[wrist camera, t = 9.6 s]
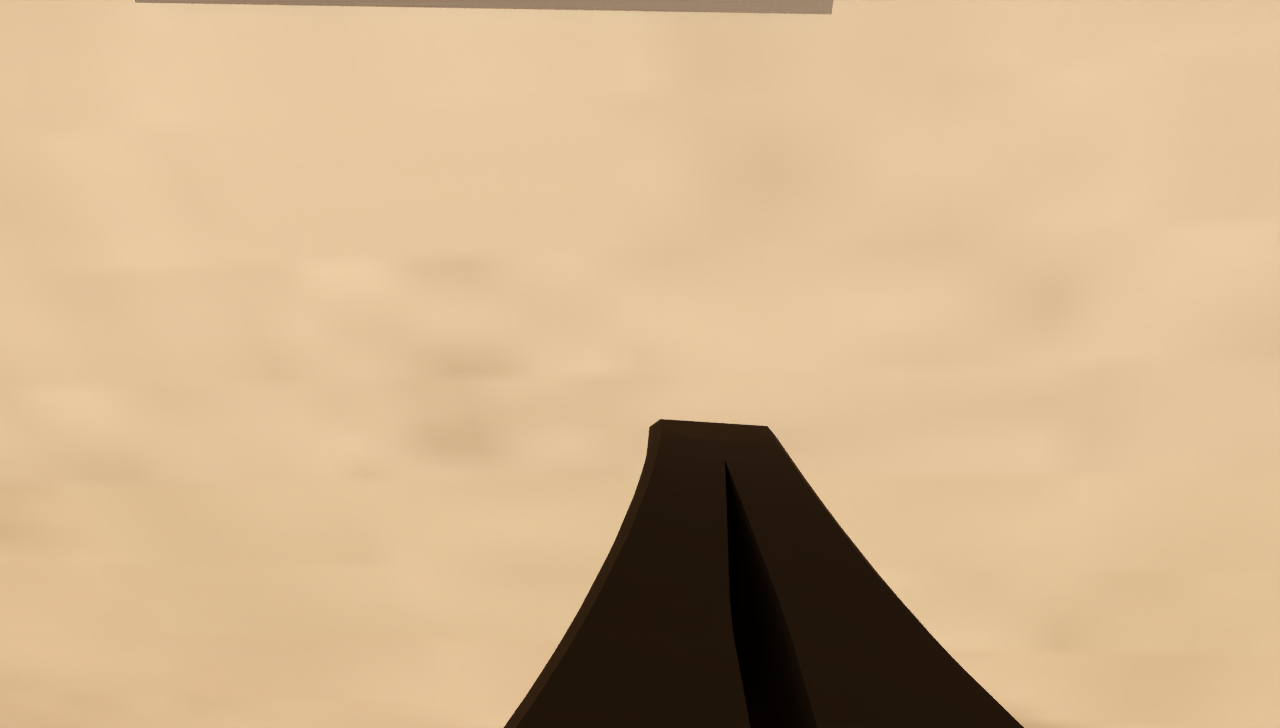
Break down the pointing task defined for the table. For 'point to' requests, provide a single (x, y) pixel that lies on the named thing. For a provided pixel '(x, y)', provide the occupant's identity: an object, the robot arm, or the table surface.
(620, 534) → the robot arm
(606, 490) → the table surface
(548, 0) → the dock
